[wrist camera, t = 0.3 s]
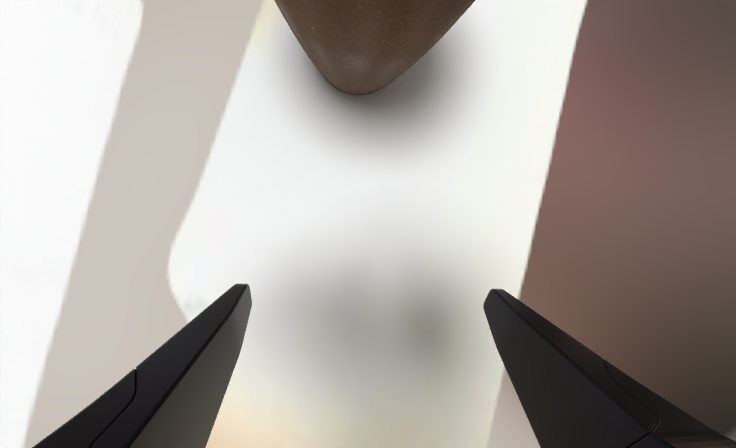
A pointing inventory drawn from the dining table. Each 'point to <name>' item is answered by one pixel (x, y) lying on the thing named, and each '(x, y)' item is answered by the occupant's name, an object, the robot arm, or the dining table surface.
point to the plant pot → (368, 36)
